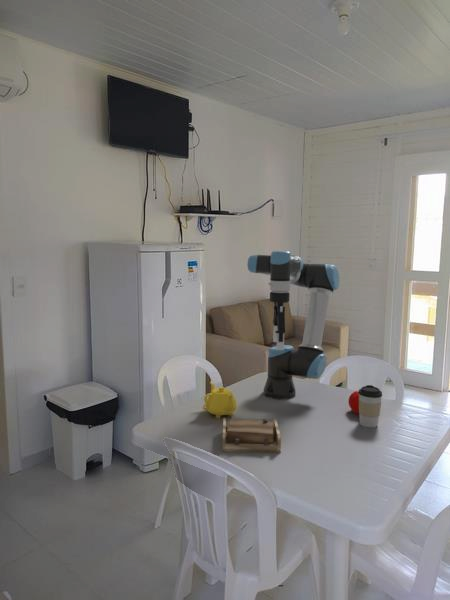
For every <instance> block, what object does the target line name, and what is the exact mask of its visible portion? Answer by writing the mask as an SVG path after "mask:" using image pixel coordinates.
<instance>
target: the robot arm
mask: <svg viewBox="0 0 450 600" xmlns="http://www.w3.org/2000/svg"><path fill="white" fill-rule="evenodd" d="M270 253H271V254H269V255H268V254H265V255H264V254H251V255H250V256H249V257H248V259H247V269H248V271H249V273H253V274H263V275H266V276H270V278H269V279H270V281H269V283H268V286H269V291H270V292H269V302H270V303H274V305H273V320H272V323H273V327H272V329H273V331H272V332H273V333H272V334H273V335H272V342H273V343H276V345H275V346H274V345H273V346H272V347H270V348H269V349H268V352H267V378H266V381H265V385H264V387H263V395H264V396H265V397H268V398H270V399H276V400H289V399H293V398H294V397H296V390H297V389H296V386H295V384H294V380H293V376H295V377H300V378H306V379H313V380H318V379H320V378H321V377H322V376H323V374H324V372H325V369H326V366H327V363H328V362H327V355H326V354H325V353H324V349H323V347H322V343H323V337H324V329H325V325H326V323H325V322H326V317H327V311H328V306H329V298H330V297H331V296H333V294H334V291H336V290H338V288H339V287H340V274H339V270H338V268H337V266H336V265H334V264H328V263H304V262H303V259H302V258H301V257H300V256H298V255H291V252H290V251H288V250H287V251H286V250H285V251H284V250H283V251H282V250H274V251H272V252H270ZM291 285H294V286H297V287H302V288H305V289H306V288H307V291H308V293H310V298H309V302H308V309H307V313H306V320H305V325H304V331H303V337H302V343H301V344H299V345H298V347H297V349H295V348H294V346H293V345H290V344H285V333H286V315H285V313H286V312H285V311H286V307H285V306H284V303H289V302H290V291H291Z"/></svg>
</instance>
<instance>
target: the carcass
mask: <svg viewBox="0 0 450 600" xmlns="http://www.w3.org/2000/svg"><path fill="white" fill-rule="evenodd" d="M273 421H274V426H273V444H268V439H264V444H239V439H238V438H236V439H235V444H229V443H227V429H228V426H229V425H227V418H225V417H223V419H222V422H223V423H222V438H221V439H222V440H221V441H222V442H221V445H222V448H221V450H222V452H223V453H224V452H226V453H227V452H228V453H229V452H230V453H274V454H275V453H277V454H279V453H281V450H282V449H281V447H282V437H281V433H280V429H279V425H278V424H279V423H278V420H277V419H276V418H273Z"/></svg>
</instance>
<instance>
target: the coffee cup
mask: <svg viewBox="0 0 450 600" xmlns="http://www.w3.org/2000/svg"><path fill="white" fill-rule="evenodd" d="M358 391H359V392H358V393H359V415H358V416H359V425H360V426H362V425H363V426H362V427H365V426H366V428H376V426H377V427H378V425H379V418H380V414H381V409H382V408H381V407H382V397H383V391H381V389H380V388H379V387H376V386H373V385H371V384H370V385H365V386H361V388H359V389H358Z"/></svg>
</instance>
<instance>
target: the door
mask: <svg viewBox="0 0 450 600" xmlns="http://www.w3.org/2000/svg"><path fill="white" fill-rule="evenodd" d="M227 426H228V429H227V443H229V444H235V439H236V438H238V439H239V444H264V439H268V444H273V426H274V420H268V419H267V418H264V419H262V420H257V419H256V420H255V419H241V418H230V420H229V423H228V425H227Z"/></svg>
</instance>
